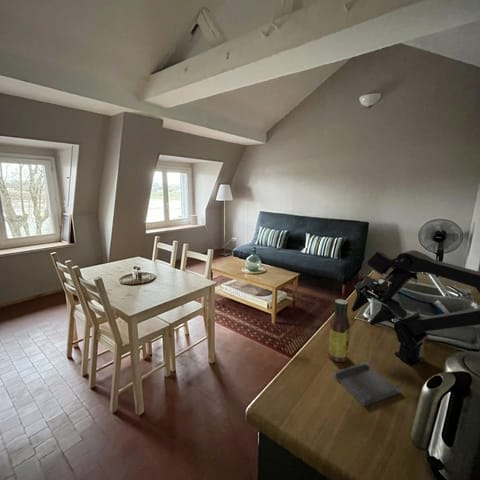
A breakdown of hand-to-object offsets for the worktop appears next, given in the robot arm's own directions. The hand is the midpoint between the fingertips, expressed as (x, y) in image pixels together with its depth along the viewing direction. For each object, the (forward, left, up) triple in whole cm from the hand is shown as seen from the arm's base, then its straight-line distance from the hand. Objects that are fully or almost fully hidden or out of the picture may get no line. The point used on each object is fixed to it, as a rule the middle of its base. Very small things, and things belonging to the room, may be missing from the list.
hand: (361, 317), depth 88 cm
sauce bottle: (+7, -1, -14) cm, 16 cm away
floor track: (+8, +12, -14) cm, 20 cm away
